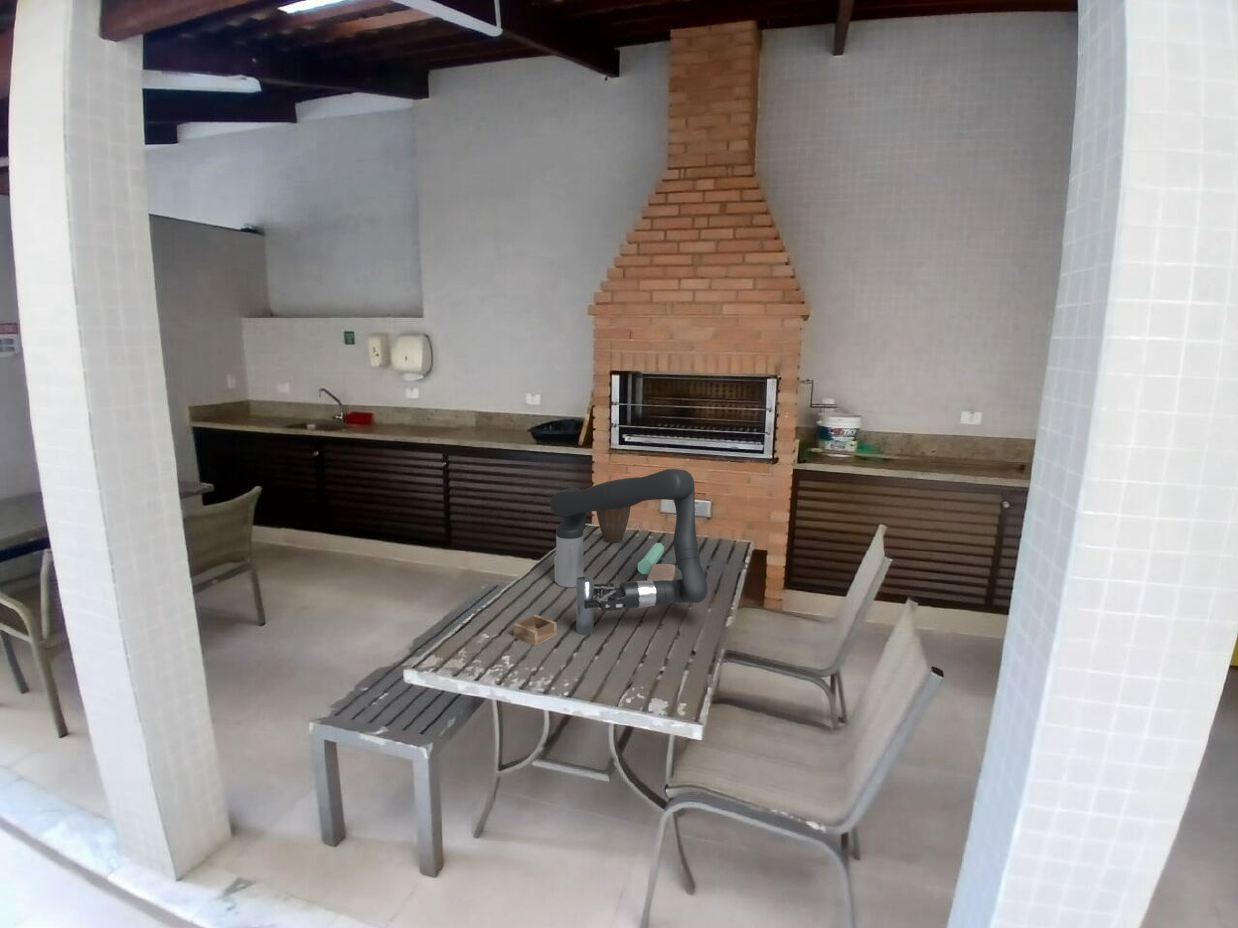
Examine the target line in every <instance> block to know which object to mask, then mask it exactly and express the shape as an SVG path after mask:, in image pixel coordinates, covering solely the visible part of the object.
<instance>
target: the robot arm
mask: <svg viewBox="0 0 1238 928" xmlns="http://www.w3.org/2000/svg"><path fill="white" fill-rule="evenodd" d="M695 496H696V493H695V480H694V477H693V476H692V474H691V473H690V472H689V471H688V470H685V469H680V468H679V469H678V468H669V469H668V468H667V469H663V470H661V471H658V472H655V473H651V474H647V475H645V476H640V477H639V476H638V477H625V478H619V479H614V480H609V481H605V482H602V483H599V484H598V483H597V484H596V485H593V486H590V487H587V488H585V489H581V488H578V487H570V488H566V489H563V490H560V491H557V492H556V493H554V495H553V496H552V497H551V499H550V503H549V507H550V510H551V512H552V513H553V514H554V515H555V516H557V517H559V518H561V519H562V520H561V522H560V523H559V524H558V525H557V527H556V530H555V533H556V534H555V537H556V551H555V552H556V554H555V555H554V557H553V558H554V582H555V583H556V584H557V585H558V586H560V587H561V588H562V587H563V588H575V587H576V579H577V578H579V577H584V530H585V528H586V525H587V513H588V512H591V513H592V512H596V511H605V510H615V509H621V508H627V507H630V506H631V507H633V506H635V505H638V504H640V503H642V502H645V501H657V500H660V501H661V500H665V501H668V500H669V501H673V503H674V506H675V507H674V508H675V515H676V518H675V519H676V520H675V526H674V527H675V528H674V533H673V549H674V556H675V557H674V558H675V563H676V567H677V568H678V570H679V572H680V573H681V577H682V578H679V579H674V580H671V581H668V580H659V581H647V580H633V581H622V582H621V583H620V585H619V587H615V584H614V583H613V582H609V583H595V584H594V583H593V597H598V598H599V599H596V598H593V600H585V601H584V608H585V609H587V608H593V609H597V608H598V610H599V609H600V611H601V612H611V611H620V610H623V609H624V610H627V609H629V610H630V609H639V608H640V609H641V608H649V607H654V606H655V607H656V606H666V605H670V604H671V605H672V604H675V603H676V604H677V603H678V604H679V603H693V604H699V603H702V602H703V601H704V600H705V599H706V598H707V596H708V591H709V590H708V582H707V579H706V576H705V572H704V570H703V567H702V563H701V557H700V551H699V550H700V549H699V545H698V538H697V531H696V529H697V528H696V512H695V511H696V508H695V507H696V505H695V504H696V503H695V500H696V499H695V498H696V497H695Z"/></svg>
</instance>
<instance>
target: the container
mask: <svg viewBox="0 0 1238 928" xmlns="http://www.w3.org/2000/svg"><path fill="white" fill-rule="evenodd" d="M664 552H665V546H664V545H663V544H662V543H661V542H655V543H654V544H653V545H652V546H651V547H650V548H649V550H648V551H647V553H646V554H645V556H644V557H643V558H642V559H641V560H640V561H639V562H638V563H637V571H638V573H640V574H642V575H649V573H650V571H651V568H652V565H653V564H658V563H657V562H658V561H659V560H660V559H661V557H662V555H663V554H664Z"/></svg>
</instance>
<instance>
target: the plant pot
mask: <svg viewBox="0 0 1238 928" xmlns="http://www.w3.org/2000/svg"><path fill="white" fill-rule="evenodd" d="M631 507H632V506H630V507H627V508H621V509H615V510H605V511H595V512H596V516H597V517H596V518H597V521H598V526H599V529H600V531H601V534H602V538H603V540H604V541H605V542H606V543H612V544H616V543H621V542H622V541H623V540H624V536H625V533H626V530H627V526H628V523H629V519H630V513H631Z"/></svg>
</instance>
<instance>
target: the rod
mask: <svg viewBox="0 0 1238 928" xmlns="http://www.w3.org/2000/svg"><path fill="white" fill-rule="evenodd" d="M593 586H594V578H593V577H590V576H583V577H579V578H577V579H576V589H575V590H576V593H575V595H576V596H575V597H576V598H575V599H576V605H575V606H576V608H575V609H576V610H575V611H576V617H575V618H576V622H575V623H576V625H575V627H576V628H575V629H576V633H577V634H579V635H582V636H587V635H588V636H589V635H591V634H593V633H594V608H587V609H585V608H584V601H585V600H594V596H593Z"/></svg>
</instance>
